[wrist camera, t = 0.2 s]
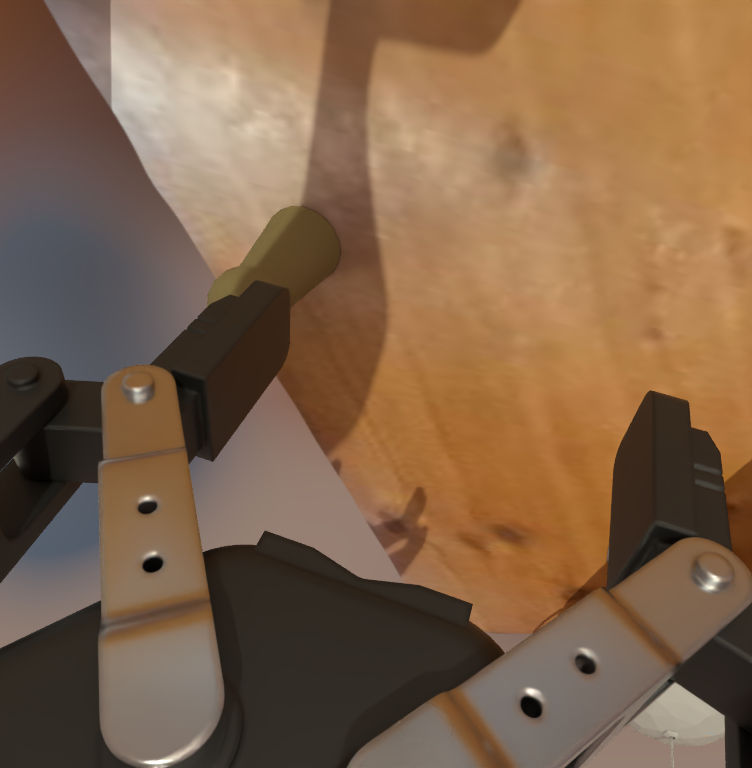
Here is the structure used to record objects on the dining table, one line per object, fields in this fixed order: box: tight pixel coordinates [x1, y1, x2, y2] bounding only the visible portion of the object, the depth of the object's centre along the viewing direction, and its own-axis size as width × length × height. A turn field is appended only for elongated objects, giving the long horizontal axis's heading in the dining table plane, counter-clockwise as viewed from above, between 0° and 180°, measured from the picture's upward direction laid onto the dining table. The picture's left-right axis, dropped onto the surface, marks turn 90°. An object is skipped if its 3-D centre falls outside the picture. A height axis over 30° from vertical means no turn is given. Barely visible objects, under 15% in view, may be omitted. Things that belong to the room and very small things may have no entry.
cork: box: [207, 206, 341, 307], centre depth 44 cm, size 6×6×11 cm
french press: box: [607, 547, 725, 768], centre depth 48 cm, size 10×12×25 cm
